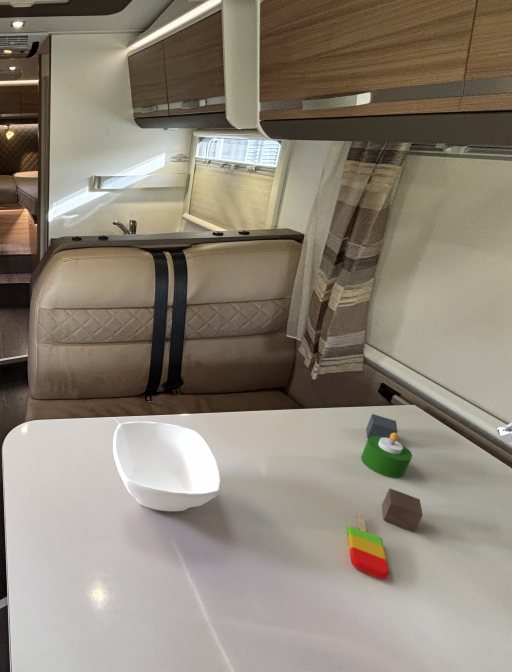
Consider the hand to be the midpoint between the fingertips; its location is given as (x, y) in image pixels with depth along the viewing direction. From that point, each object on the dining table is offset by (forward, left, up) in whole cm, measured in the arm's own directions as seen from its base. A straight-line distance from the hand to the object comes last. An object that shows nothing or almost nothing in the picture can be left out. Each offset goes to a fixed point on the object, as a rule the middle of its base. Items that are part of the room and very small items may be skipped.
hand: (500, 435), depth 91 cm
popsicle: (+19, +29, -17) cm, 39 cm away
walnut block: (+13, +17, -17) cm, 28 cm away
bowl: (+57, +41, -17) cm, 73 cm away
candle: (+15, 0, -17) cm, 23 cm away
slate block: (+15, -13, -17) cm, 26 cm away
